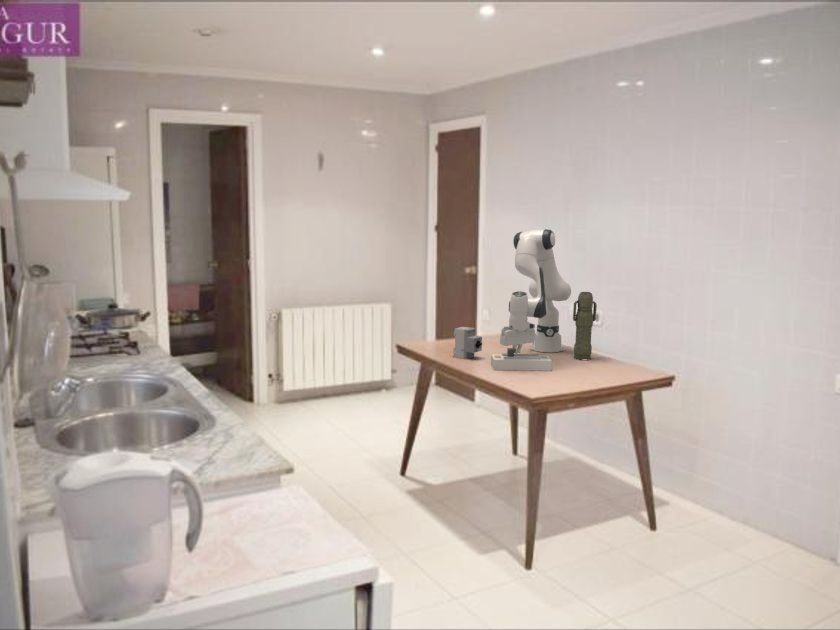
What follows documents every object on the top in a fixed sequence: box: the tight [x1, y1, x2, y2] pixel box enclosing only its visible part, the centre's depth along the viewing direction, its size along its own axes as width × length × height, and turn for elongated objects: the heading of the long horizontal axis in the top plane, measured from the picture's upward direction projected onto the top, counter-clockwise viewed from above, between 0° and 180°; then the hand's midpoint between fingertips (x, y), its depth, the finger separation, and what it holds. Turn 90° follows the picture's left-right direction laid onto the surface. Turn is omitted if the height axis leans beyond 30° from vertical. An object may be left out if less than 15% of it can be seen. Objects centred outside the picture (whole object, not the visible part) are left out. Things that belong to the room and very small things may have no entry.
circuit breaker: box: [452, 326, 483, 360], centre depth 375 cm, size 8×14×15 cm, turn 53°
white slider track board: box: [490, 353, 553, 372], centre depth 355 cm, size 13×28×6 cm, turn 91°
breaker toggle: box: [506, 347, 515, 357], centre depth 354 cm, size 3×3×4 cm
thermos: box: [572, 291, 597, 360], centre depth 376 cm, size 9×12×35 cm
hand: (517, 353), depth 354 cm, fingers closed
